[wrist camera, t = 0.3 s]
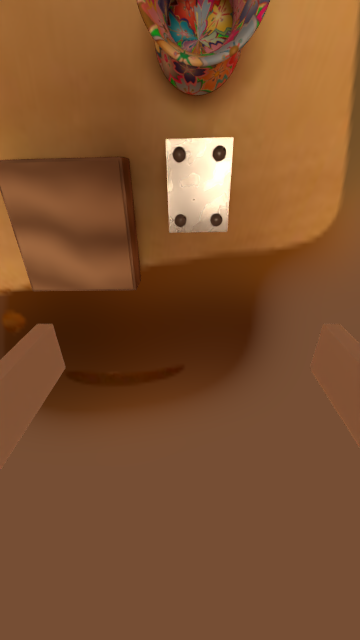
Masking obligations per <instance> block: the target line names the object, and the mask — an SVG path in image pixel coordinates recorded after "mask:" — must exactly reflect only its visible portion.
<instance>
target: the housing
mask: <svg viewBox="0 0 360 640" xmlns="http://www.w3.org/2000/svg"><path fill="white" fill-rule="evenodd" d="M233 138H234V137H221V138H187V139H166V163H167V188H168V213H169V233H179V232H227V229H228V213H229V198H230V183H231V168H232V153H233Z"/></svg>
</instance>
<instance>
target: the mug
mask: <svg viewBox="0 0 360 640" xmlns="http://www.w3.org/2000/svg"><path fill="white" fill-rule="evenodd" d="M269 2H270V0H137V4H138V7H139V10H140V13H141V16H142V18H143V21H144V23H145V25H146V27H147V29H148V31H149V32H150V34H151V36H152V37H153V39H154V40H155V48H156V54H157V58H158V61H159V64H160V66H161V68H162V70H163V72H164V74H165V76H166V77H167V79H168V80H169V81H170V82H171V83H172V84H173V85H174V86H175V87H176V88H177V89H179V90H181V91H182V92H185V93H187V94H191V95H203V94H207V93H210V92H212V91H214V90H216V89H217V88H218V87H220V86H221V85H222V84H223V83H224V82H225V81H226V80H227V79H228V77H229V76H230V75H231V73H232V72H233V70H234V68H235V66H236V64H237V62H238V59H239V56H240V53H241V49H242V47H243V46H244V45H245V44H246V43H247V42H248V40H249V39H250V38H251V37H252V35H253V34H254V32H255V31H256V29H257V28H258V26H259V24H260V22H261V20H262V18H263V16H264V14H265V12H266V10H267V7H268V5H269Z"/></svg>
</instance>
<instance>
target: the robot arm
mask: <svg viewBox="0 0 360 640" xmlns="http://www.w3.org/2000/svg"><path fill="white" fill-rule="evenodd" d="M64 369H65V364H64V361H63V357H62V354H61V351H60V347H59V344H58V341H57V338H56V334H55V331H54V327H53V324H37V325H36V326H35V327H34V328H33V329H32V330H31V331H30V332H29V333H28V334H27V335H26V336H24V337H23V338H22V339H21V341H19V342H18V343H17V345H15V346H14V347H13V348H12V349H11V351H9V352H8V353H7V354H6V355H5V356H4V357H3V358H2V359H1V360H0V470H1V468H2V466H3V465H4V463H5V462H6V460H7V459H8V457H9V456H10V454H11V452H12V451H13V449H14V447H15V446H16V444H17V443H18V441H19V440H20V438H21V437H22V435H23V433H24V432H25V430H26V429H27V427H28V425H29V424H30V423H31V421H32V419H33V418H34V416H35V415H36V413H37V412H38V410H39V408H40V407H41V405H42V404H43V402H44V400H45V399H46V398H47V396H48V394H49V393H50V391H51V390H52V388H53V387H54V385H55V383H56V382H57V380H58V379H59V377H60V376H61V374H62V372H63V371H64ZM310 370H311V372H312V373H313V375H314V376H315V378H316V380H317V381H318V383H319V384H320V386H321V388H322V389H323V391H324V392H325V394H326V395H327V397H328V398H329V400H330V402H331V403H332V405H333V407H334V408H335V410H336V411H337V413H338V414H339V416H340V418H341V419H342V421H343V422H344V424H345V425H346V427H347V429H348V430H349V432H350V433H351V435H352V437H353V438H354V440H355V441H356V443H357V445H358V446H359V448H360V343H358V342H357V341H356V340H355V339H354V338H353V337H352V336H351V335H350V334H349V333H348V332H347V331H346V330H345V329H344V328H343V327H342V326H341V325H340V324H323V326H322V329H321V333H320V336H319V340H318V343H317V346H316V350H315V353H314V356H313V360H312V363H311V366H310Z"/></svg>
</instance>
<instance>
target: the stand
mask: <svg viewBox="0 0 360 640" xmlns="http://www.w3.org/2000/svg"><path fill="white" fill-rule="evenodd" d="M0 190H1V193H2V196H3V200H4V203H5V206H6V209H7V212H8V215H9V218H10V221H11V224H12V227H13V231H14V234H15V237H16V240H17V243H18V246H19V249H20V252H21V255H22V258H23V262H24V265H25V268H26V271H27V274H28V277H29V280H30V283H31V286H32V289H33V291H85V290H86V291H89V290H91V291H95V290H136V289H137V287H138V285H139V283H140V281H141V275H140V265H139V255H138V245H137V235H136V225H135V215H134V205H133V195H132V185H131V175H130V165H129V159H127V158H124V157H95V158H58V159H21V160H0Z"/></svg>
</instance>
